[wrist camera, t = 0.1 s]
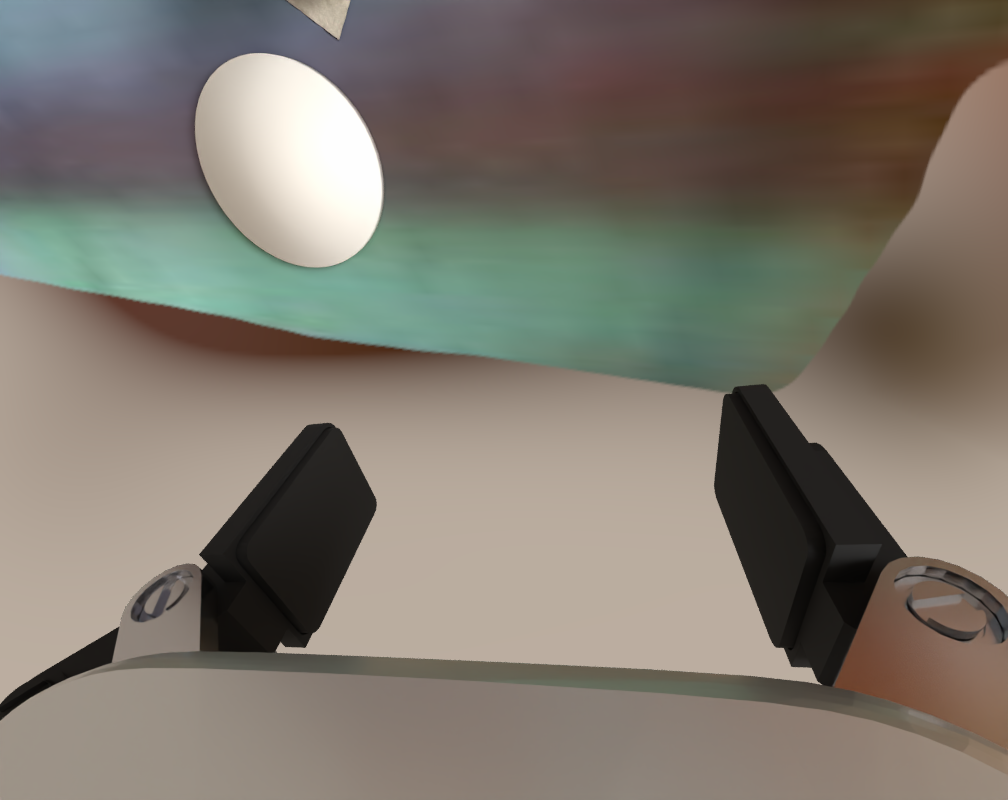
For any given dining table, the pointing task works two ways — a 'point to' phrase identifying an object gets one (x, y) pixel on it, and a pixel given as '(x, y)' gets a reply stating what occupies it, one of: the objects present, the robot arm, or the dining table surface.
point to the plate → (289, 159)
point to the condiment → (325, 13)
